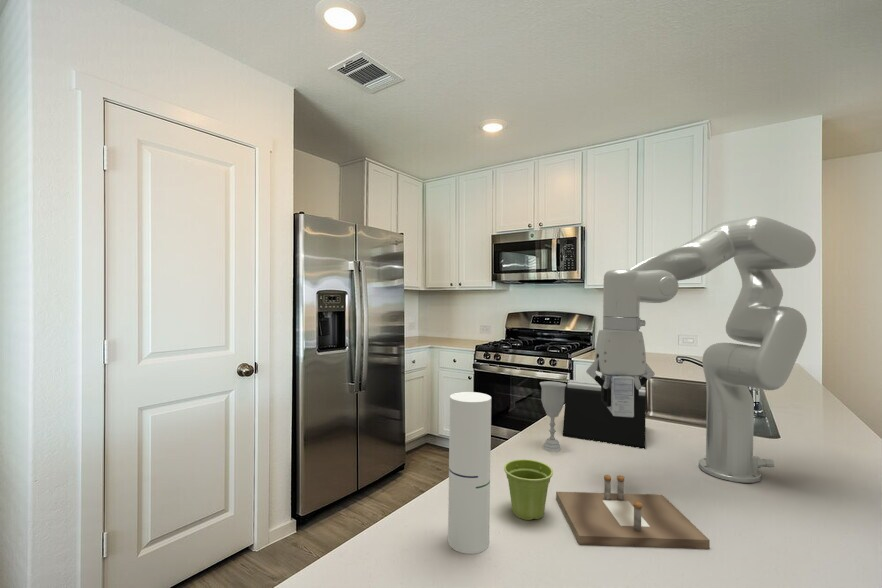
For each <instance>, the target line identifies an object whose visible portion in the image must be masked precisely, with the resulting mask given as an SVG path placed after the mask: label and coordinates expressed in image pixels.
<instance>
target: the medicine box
mask: <svg viewBox="0 0 882 588" xmlns="http://www.w3.org/2000/svg"><path fill="white" fill-rule="evenodd" d="M609 389H611V406H610V407H607V408H608V409H609V410H610V412H611V413H612V415H613V416H619V417H632V418H633V417H634V378H633V377H632V376H624V375H616V376H611V381H610V384H609Z"/></svg>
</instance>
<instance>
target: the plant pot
mask: <svg viewBox="0 0 882 588" xmlns="http://www.w3.org/2000/svg"><path fill="white" fill-rule="evenodd" d="M503 471H504V472H505V474H506V479H507V482H508V487H509V488H508V489H509V497H510V503H511V504H510V505H511V511H512V512H513V514H514V515H515V516H516V517H517V518H519V519H522V520H525V521H531V520H533V519H534V520H540V519H541V518H543V517H544V515H545V509H546V501H547V495H548V489H549V484H550V482H551V478H552V477H553V475H554V471H553V469H552V466H550V465H548V464H546V463H544V462H542V461H538V460H533V459H526V458H525V459H523V458H522V459H514V460H511V461H508V462H506V463H505V464H504V466H503Z"/></svg>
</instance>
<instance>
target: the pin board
mask: <svg viewBox="0 0 882 588" xmlns="http://www.w3.org/2000/svg"><path fill="white" fill-rule="evenodd" d="M603 479H604V487H603V488H604V490H603V492H587V491H585V492H584V491H583V492H582V491H581V492H580V491H556V493H555V494H556V495H555V500H556V501H557V504H558V506H559V507H560V509H561V511H562V513H563V516H564V517H565V519H566V521H567V523H568V525H569V527H570V529H571V532H572V533H573V536H574V538H575V539H576V542H577V543H578V545H580V546H581V545H583V546H612V547H614V546H615V547H617V546H618V547H638V548H639V547H643V548H645V547H646V548H673V549H674V548H675V549H677V548H678V549H705V550H709V549H710V546H711V545H710V541H711V540H710V539H709V538H708V536H706V535H705V534H704V533H703V532H702V531H701V530H700V529H699V528H698V527H697V526H696V525H695V524H693V522H691V520H690V519H688V518H687V517H686V516H685V515H684V513H683V512H682V511H680V509H678V508H677V507H676V506H675V505H674V504H672V502H671V501H670V500H669V499H668V498H667V497H666V496H664V495H663V494H655V493H654V494H652V493H650V494H648V493H624V492H625V491H624V489H625V486H624V485H625V484H624V483H625V476H624V475H620V474H618V475H616V481H617V482H616V483H617V484H616V489H617V491H616V492H615V493H614V492H611V491H612V485H611V484H612V476H611V475H610V474H604V476H603Z"/></svg>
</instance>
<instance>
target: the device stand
mask: <svg viewBox="0 0 882 588" xmlns="http://www.w3.org/2000/svg"><path fill="white" fill-rule="evenodd" d="M566 385H567V386H566V387H565V397H564V412H563V413H564V414H563V425H562V426H563V427H562V437H564V438H565V437H566V438H570V439H571V438H572V439H578V440H584V439H585V441H591V440H593V441H592V442H597V441H600V442H599V443H603V442H607V443H606V444H610V443H612V444H611V445H616V444H619V445H618V446H623V445H625V446H624V447H629V446H631V448H636V447H639V448H638V449H642V448H644V450H646V411H647V410H646V405H647V404H646V400H647V399H646V392H647V391H646V387H645V386H641V389H640V390H639V402H638V403H637V408H634V417H633V418H632V417H619V416H613V415H612V413H611V412H610V410H609V409H608V408H607V406H606V405H604V404H603V402H602V401H601V386H600V385H599V384H598V383H597V382H596V381H595V382H593V381H584V380H575V379H569V382H567V384H566Z"/></svg>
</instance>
